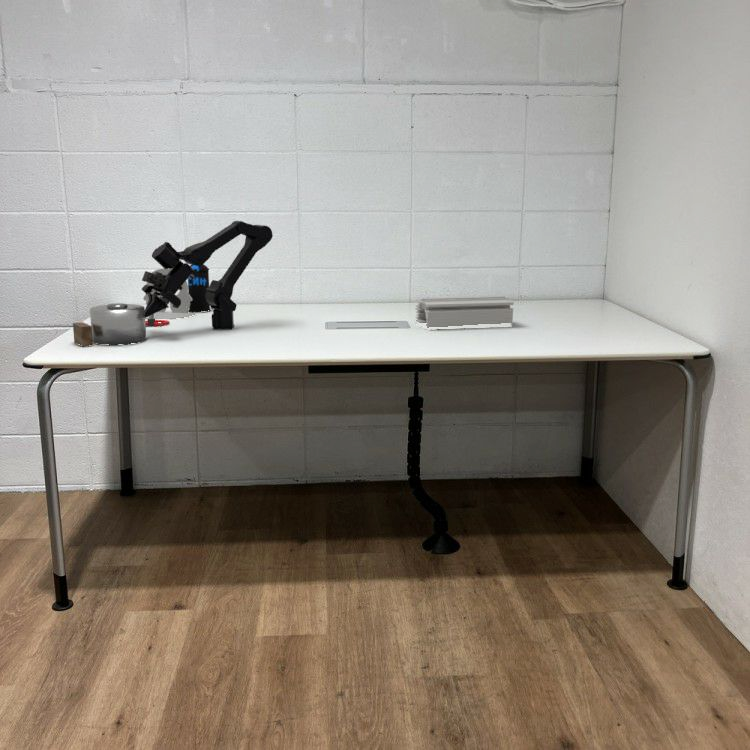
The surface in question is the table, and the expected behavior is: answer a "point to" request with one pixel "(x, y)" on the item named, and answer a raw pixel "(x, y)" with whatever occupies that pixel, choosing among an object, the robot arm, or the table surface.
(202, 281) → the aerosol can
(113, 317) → the cylinder
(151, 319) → the tow hook
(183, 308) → the ornament
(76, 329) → the walnut block
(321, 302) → the table surface
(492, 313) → the aluminum extrusion profile
